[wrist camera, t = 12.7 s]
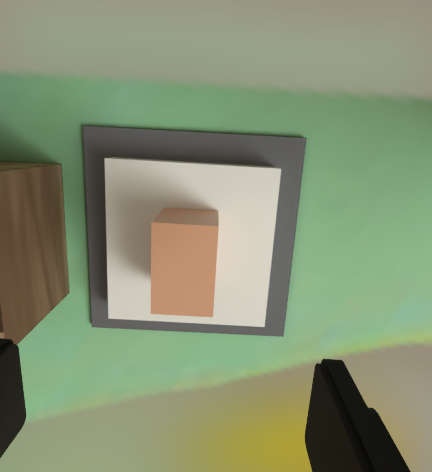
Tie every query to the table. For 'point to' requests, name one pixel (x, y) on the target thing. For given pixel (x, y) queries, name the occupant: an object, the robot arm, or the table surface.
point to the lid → (189, 240)
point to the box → (31, 245)
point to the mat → (193, 150)
